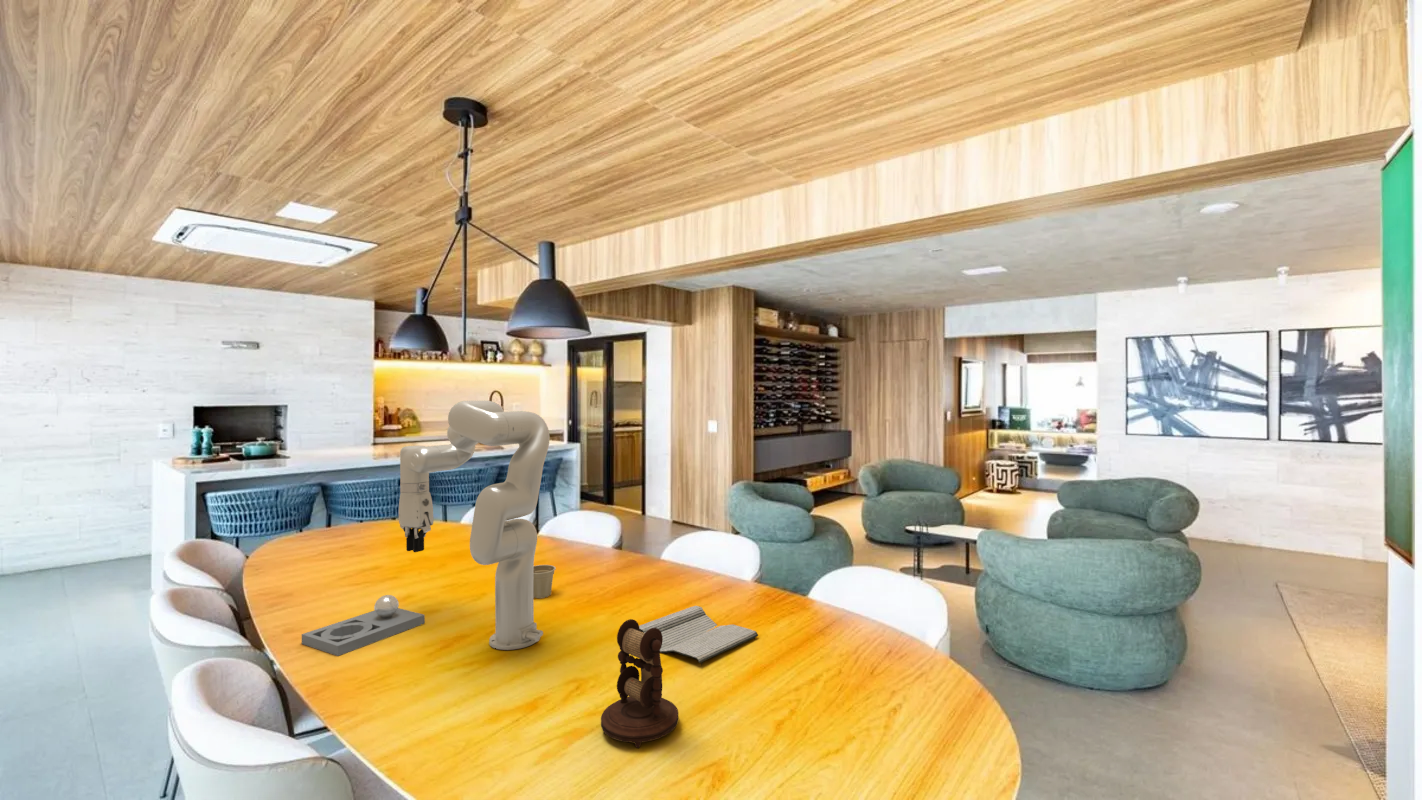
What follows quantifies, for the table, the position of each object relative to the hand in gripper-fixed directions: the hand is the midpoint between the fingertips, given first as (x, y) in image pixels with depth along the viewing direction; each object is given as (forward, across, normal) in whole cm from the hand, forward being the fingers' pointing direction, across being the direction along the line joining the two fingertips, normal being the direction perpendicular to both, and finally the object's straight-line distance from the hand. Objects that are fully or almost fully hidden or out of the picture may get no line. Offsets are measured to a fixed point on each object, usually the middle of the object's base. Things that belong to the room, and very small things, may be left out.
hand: (415, 550), depth 175 cm
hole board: (+19, 0, +15) cm, 24 cm away
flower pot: (+19, -20, -30) cm, 41 cm away
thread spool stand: (+19, -93, +19) cm, 97 cm away
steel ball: (+14, 0, +9) cm, 16 cm away
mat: (+20, -82, -22) cm, 87 cm away
